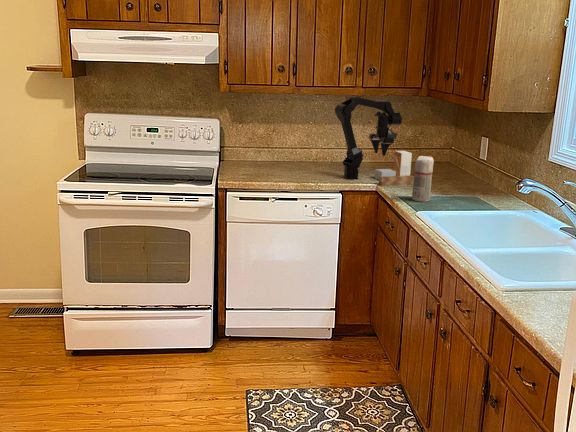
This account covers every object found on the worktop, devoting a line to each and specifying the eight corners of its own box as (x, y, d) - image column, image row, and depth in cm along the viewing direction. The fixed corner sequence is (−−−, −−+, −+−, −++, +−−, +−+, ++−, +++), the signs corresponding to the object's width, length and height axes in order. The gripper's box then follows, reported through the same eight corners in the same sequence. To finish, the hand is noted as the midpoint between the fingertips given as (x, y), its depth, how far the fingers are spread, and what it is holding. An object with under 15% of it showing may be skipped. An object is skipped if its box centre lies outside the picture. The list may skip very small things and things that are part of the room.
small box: (392, 174, 340) (394, 150, 337) (403, 174, 342) (405, 150, 339) (399, 177, 333) (401, 153, 329) (410, 176, 335) (412, 152, 331)
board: (381, 185, 310) (381, 177, 309) (378, 184, 313) (379, 176, 312) (413, 184, 316) (414, 176, 315) (410, 183, 319) (411, 175, 318)
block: (381, 181, 321) (381, 172, 320) (374, 178, 328) (375, 169, 327) (395, 181, 323) (395, 171, 322) (388, 178, 331) (389, 168, 330)
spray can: (433, 202, 279) (437, 158, 274) (416, 202, 277) (419, 158, 272) (425, 197, 287) (429, 154, 282) (408, 198, 285) (412, 155, 280)
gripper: (404, 127, 321) (401, 157, 325) (388, 123, 338) (385, 151, 342) (385, 127, 318) (382, 157, 321) (369, 122, 335) (367, 151, 339)
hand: (379, 154), depth 331 cm, fingers open, 9 cm apart
